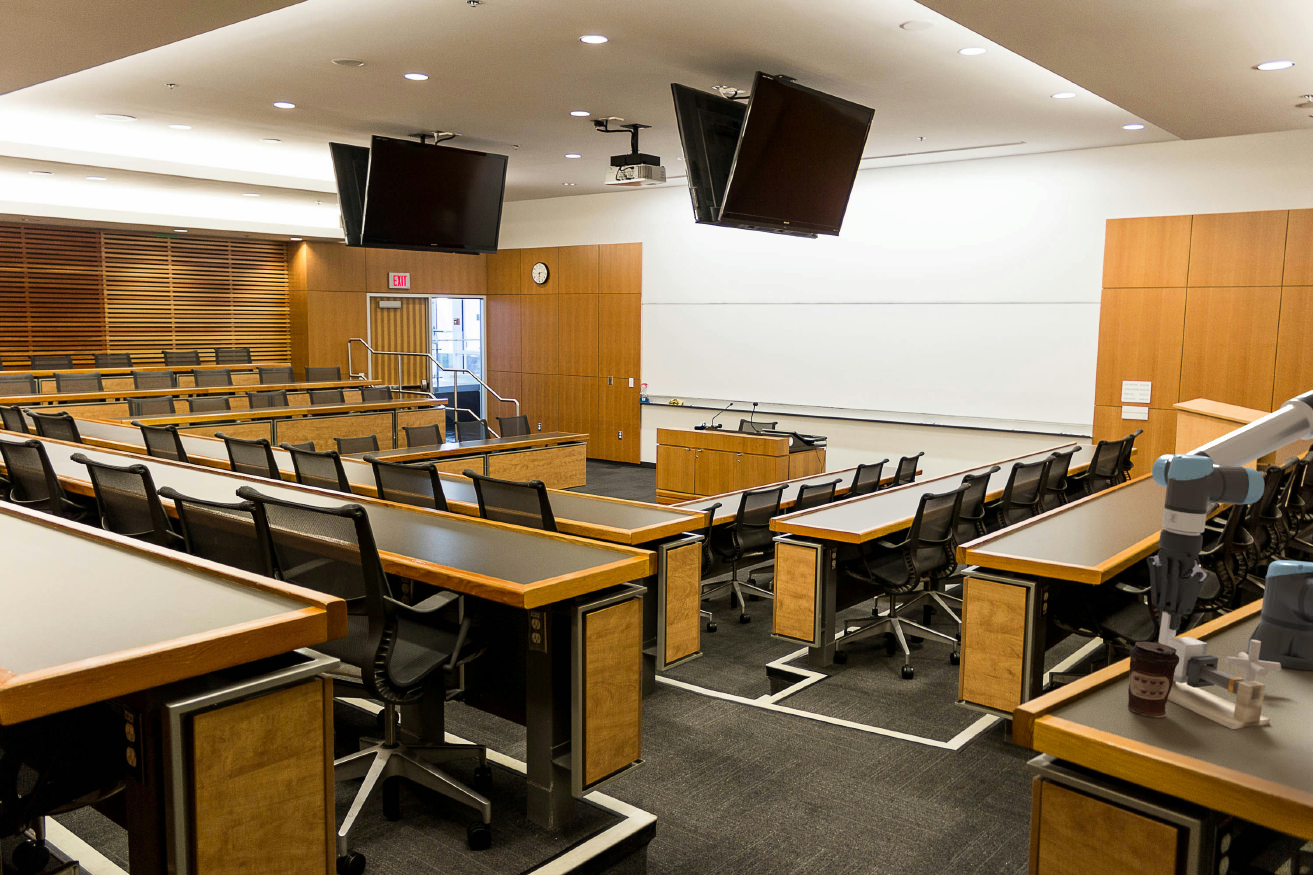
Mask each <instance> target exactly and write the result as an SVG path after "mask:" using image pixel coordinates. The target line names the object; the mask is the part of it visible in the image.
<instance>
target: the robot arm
mask: <svg viewBox="0 0 1313 875" xmlns="http://www.w3.org/2000/svg"><path fill="white" fill-rule="evenodd" d="M1312 439H1313V389H1311V390H1309V391H1306V392H1304V393H1301V394H1299V395H1297V396H1295V397H1292V398H1291V399H1288V400H1287V401H1284V402H1283V403H1282V404H1281V405H1280V408H1279V409H1277V410H1275V411H1274V412H1272V413H1270V414H1267V415H1265V416H1263V417H1261V418H1259V419H1256V420H1254V421H1252V422H1250V423H1248V424H1246V425H1244V426H1242V427H1239V428H1238V429H1235V430H1233V431H1231V432H1229V433H1226V434H1225V435H1222V436H1219V437H1218V438H1216V439H1214V440H1212V441H1210V442H1208V443H1205V444H1204V445H1201V446H1199V447H1196V448H1195V449H1192V450H1190V451H1188V452H1186V453H1178V454H1173V453H1172V454H1164V455H1163V454H1162V455H1161V456H1160V457H1158V458H1157V459H1156V460H1155V462H1154V463H1153V466H1152V469H1151V473H1152V478H1153V481H1154V482H1155V483H1156V484H1157V485H1158V486H1160V487H1163V488H1165V489H1166V492H1165V497H1164V508H1163V515H1162V522H1161V526H1162V527H1163V528H1162V529H1161V530H1160V534H1159V535H1160V536H1159V542H1158V547H1159V548H1160V549H1159V550H1158V552H1157V555H1154V556H1148V557H1147V558H1146V559H1145V560H1146V562H1147V566H1148V568H1149V579H1150V580H1149V581H1150V582H1149V583H1150V594H1151V595H1150V596H1151V604H1152V605H1153V606H1156V607H1158V609H1159V615H1158V622H1157V623H1158V625H1159V626H1160V628H1159V636H1158V643H1160V644H1164V645H1167V644H1168V639H1170V638H1176V634H1177V631H1179V630H1180V625H1181V621H1182V617H1183V616H1182V615H1188V614H1189V615H1190V614H1192V613H1193V610H1194V608H1195V605H1196V602H1197V600H1198V597H1199V595H1200V593H1201V591H1202V587H1203V584H1204V583H1205V582H1206V580H1208V579H1209V577H1210V573H1209V572H1208V571H1204V570H1203V569H1202V568H1201V566H1200V560H1199V555H1200V553H1201V552H1202V546H1203V539H1204V536H1203V533H1205V527H1206V520H1207V519H1206V518H1207V513H1208V506H1209V504H1228V505H1229V504H1230V505H1234V504H1235V505H1239V506H1241V505H1247V504H1249V505H1250V504H1254V503H1257V502H1258V501H1259V500H1260V499H1261V498H1262V496H1263V495H1264V492H1265V479H1264V477H1263V475H1262V474H1261V473H1260V472H1259V471H1258V470H1256V469H1254V468H1252V467H1245V465H1247V464H1249V463H1252V462H1254V461H1256V460H1258V459H1260V458H1262V457H1264V456H1267V455H1269V454H1271V453H1273V452H1274V451H1278V450H1279V449H1281V448H1284V447H1286V446H1288V445H1290V444H1293V443H1294V442H1296V441H1299V440H1302V441H1303V440H1304V441H1309V440H1312ZM1262 597H1263V598H1262V605H1261V612H1260V618H1259V622H1258V624H1257V625H1256V627H1255V629H1254V631H1253V632H1252V634H1251V635H1250V637H1249V639H1248V641H1247V646H1246V652H1247V653H1248V654H1249V649H1250V642H1251V640H1258V641H1260V642H1261V645H1260V652H1259V659H1258V660H1261V661H1270V662H1278V663H1280V664H1281V667H1283V668H1289V669H1293V670H1300V671H1301V670H1302V671H1310V670H1313V562H1311V561H1301V560H1275V561H1272V562H1271V563H1270V564H1269V566H1268V568H1267V574H1266V575H1265V582H1264V591H1263V596H1262Z"/></svg>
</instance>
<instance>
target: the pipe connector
mask: <svg viewBox="0 0 1313 875" xmlns="http://www.w3.org/2000/svg"><path fill="white" fill-rule="evenodd" d="M1260 645H1261V642H1260V641H1258V640H1251V642H1250V649H1249V653H1248V654H1247V653H1246V652H1244V651H1241V652H1239V653H1238V654H1237V657H1236V656H1228V655H1226V656H1224V665H1225V666H1235V667H1242V668H1246V670H1245V675H1244V681H1247V682H1248V681H1256V677H1257V675H1258V676H1259V677H1261V678H1264V677H1266V676H1268V674H1269V672H1268V671H1273V672H1274V671H1275V672H1281V670H1282V666H1281V664H1280V663H1278V662H1270V661H1262V660H1260V659H1259V652H1260Z"/></svg>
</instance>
